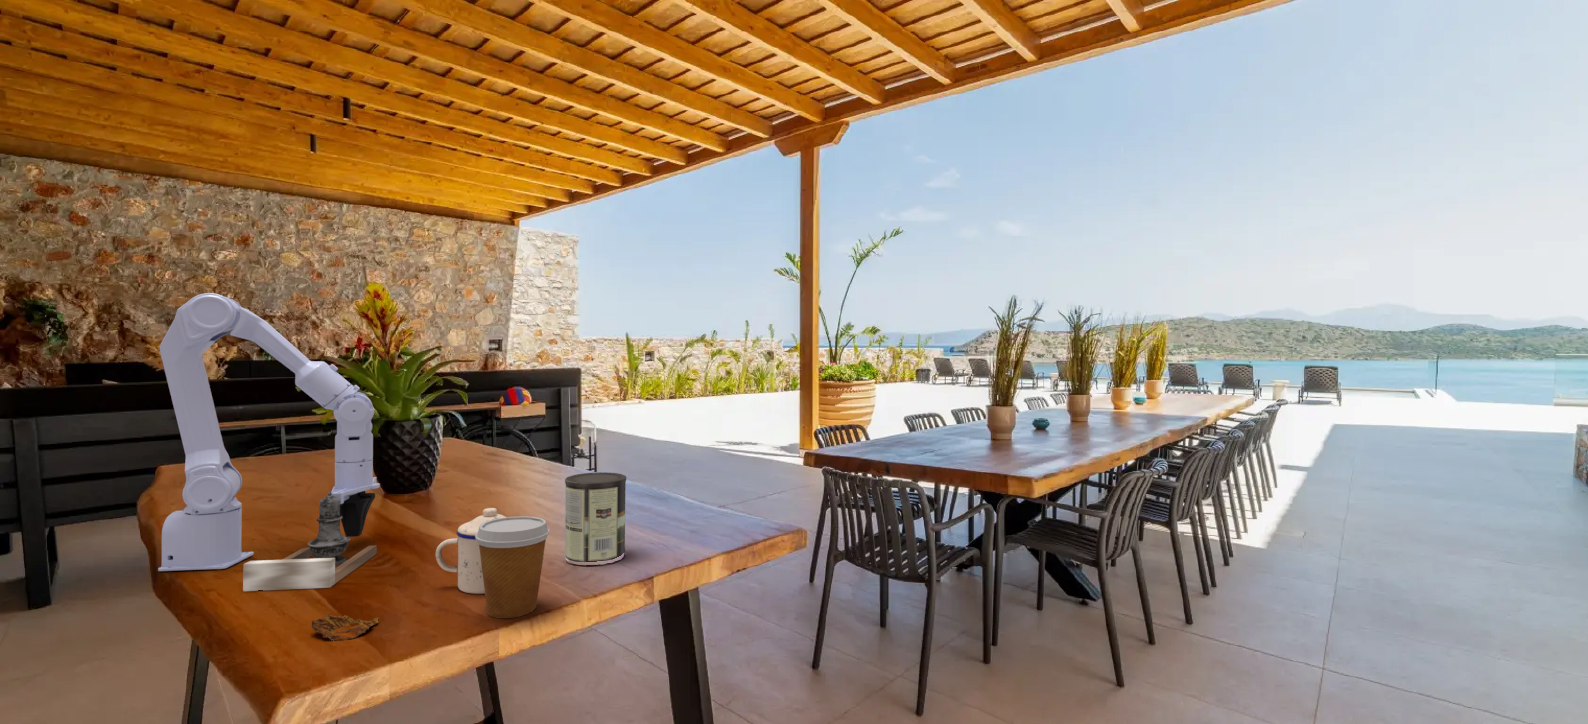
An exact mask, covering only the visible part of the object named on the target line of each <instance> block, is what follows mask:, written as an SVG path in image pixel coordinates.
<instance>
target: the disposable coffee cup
mask: <svg viewBox="0 0 1588 724" xmlns="http://www.w3.org/2000/svg"><path fill="white" fill-rule="evenodd" d="M505 517H506V518H499V519H494V520H490V521H487V522H484V523H482V524H481V525H480V526H479V529H478V533H477V534H476V535H475V539H476V540H477V543H478V544H479V549H480V556H481V565H482V573H483V581H484V589H485V594H484V597H485V602H486V604H485V605H486V611H487V612H486V614H487V615H488V616H490V617H492V618H495V619H512V618H518V617H523V616H525V615H528V614H531V613H532V612H534V611H535V610H536V609H537V603H538V597H539V590H540V582H541V575H542V570H543V563H544V562H543V561H544V554H545V547H546V540H547V538H548V535H549V534H550V528H549V527H548V525H547V521H546V520H545V519H543V518H541V517H537V516H528V515H527V516H525V515H524V516H523V515H522V516H521V515H520V516H509V517H508V516H505ZM535 608H536V609H535ZM534 609H535V610H534ZM533 610H534V611H533ZM530 612H531V613H530Z"/></svg>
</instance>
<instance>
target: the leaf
mask: <svg viewBox="0 0 1588 724" xmlns="http://www.w3.org/2000/svg"><path fill="white" fill-rule="evenodd" d="M379 621H380V618H379V617H376V618H373V619H372V620H361V618H358V619H356V620H354V618H352V617H350V616H348V615H346V614H344V615H343V616H339V615H332V614H329V613H328V614H326V615H324V616H323V617H322V618H318V619H312V620H311V628H312V629H313V630H314V631H315V632H317V633H318V634H320V635H322V638H328V639H329V640H331V641H332V640H333V641H341V640H342V641H348V640H349V639H355V638H357V637H358V636H360V635H362V634H363V633H364V634H365V633H366V631H367V630H369V628H370V627H373V626H374V625H376V624H378V623H379ZM357 623H358V624H357ZM364 623H365V624H364ZM351 624H356V625H353V626H352V627H350V628H347V629H344V630H338V629H340V628H346V627H348V626H350V625H351ZM336 630H337V631H336ZM352 632H355V634H353V635H352V636H351V635H350V636H346V637H344V636H342V635H341V634H347V633H352ZM337 634H338V635H337ZM339 634H340V635H339Z"/></svg>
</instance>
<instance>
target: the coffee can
mask: <svg viewBox="0 0 1588 724" xmlns="http://www.w3.org/2000/svg"><path fill="white" fill-rule="evenodd" d="M626 481H627V475H625V474H622V473H618V472H607V471H605V472H598V471H597V472H586V473H578V474H577V473H576V474H573V475H570V476H567V477H565V479H564V483H565V533H564V534H565V538H564V539H565V542H564V544H565V546H564V548H565V550H564V551H565V552H564V553H565V554H564V560H565V559H566V560H567V561H572V562H578V563H579V562H580V563H582V562H584V563H585V562H597V561H609V560H613V559H615V558H617V557H619V556H621V555H622V554H623V553H624V552H625V553H626V483H627V482H626Z"/></svg>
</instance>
